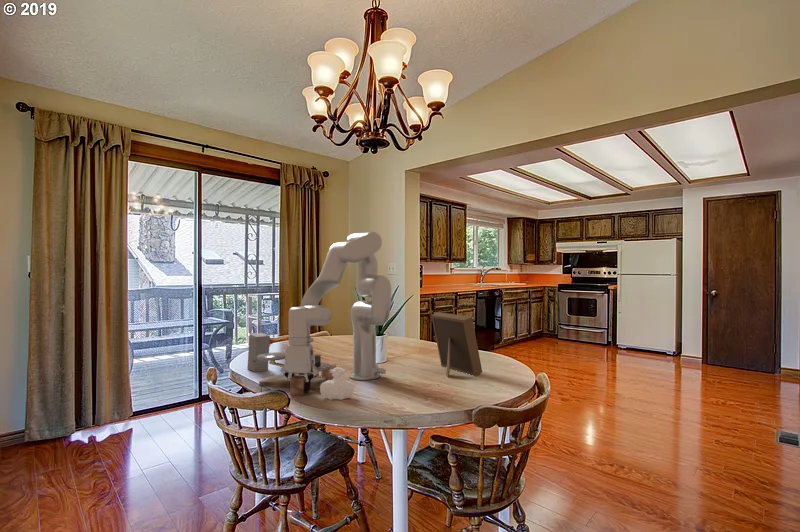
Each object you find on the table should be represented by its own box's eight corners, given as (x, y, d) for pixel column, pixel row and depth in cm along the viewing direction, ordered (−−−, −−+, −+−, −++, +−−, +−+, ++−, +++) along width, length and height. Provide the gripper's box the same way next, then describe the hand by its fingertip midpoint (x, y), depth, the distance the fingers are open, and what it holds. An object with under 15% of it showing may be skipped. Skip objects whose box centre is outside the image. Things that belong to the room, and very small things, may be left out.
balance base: (327, 381, 160) (327, 378, 160) (316, 389, 151) (316, 385, 151) (272, 378, 166) (272, 374, 166) (259, 385, 156) (259, 381, 156)
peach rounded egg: (338, 377, 167) (338, 363, 167) (333, 381, 161) (332, 366, 161) (325, 376, 168) (325, 362, 168) (319, 380, 162) (319, 365, 162)
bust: (354, 403, 141) (356, 373, 148) (352, 395, 135) (354, 364, 142) (320, 403, 141) (324, 373, 148) (316, 395, 135) (320, 364, 142)
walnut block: (309, 391, 148) (309, 375, 148) (302, 395, 143) (302, 378, 143) (296, 390, 149) (296, 374, 149) (290, 394, 144) (289, 378, 144)
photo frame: (448, 364, 188) (447, 311, 188) (482, 374, 170) (481, 315, 170) (423, 369, 180) (422, 313, 180) (456, 380, 162) (455, 318, 162)
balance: (335, 377, 161) (335, 353, 161) (323, 386, 149) (323, 359, 149) (267, 373, 167) (267, 349, 167) (250, 381, 156) (250, 356, 156)
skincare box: (247, 369, 181) (247, 333, 181) (262, 366, 186) (262, 332, 186) (254, 372, 175) (254, 336, 175) (270, 369, 180) (270, 334, 180)
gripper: (325, 340, 147) (325, 389, 147) (283, 338, 151) (283, 387, 151) (316, 344, 140) (317, 396, 140) (272, 342, 144) (272, 393, 144)
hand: (299, 391), depth 146 cm, fingers closed on walnut block, 5 cm apart
